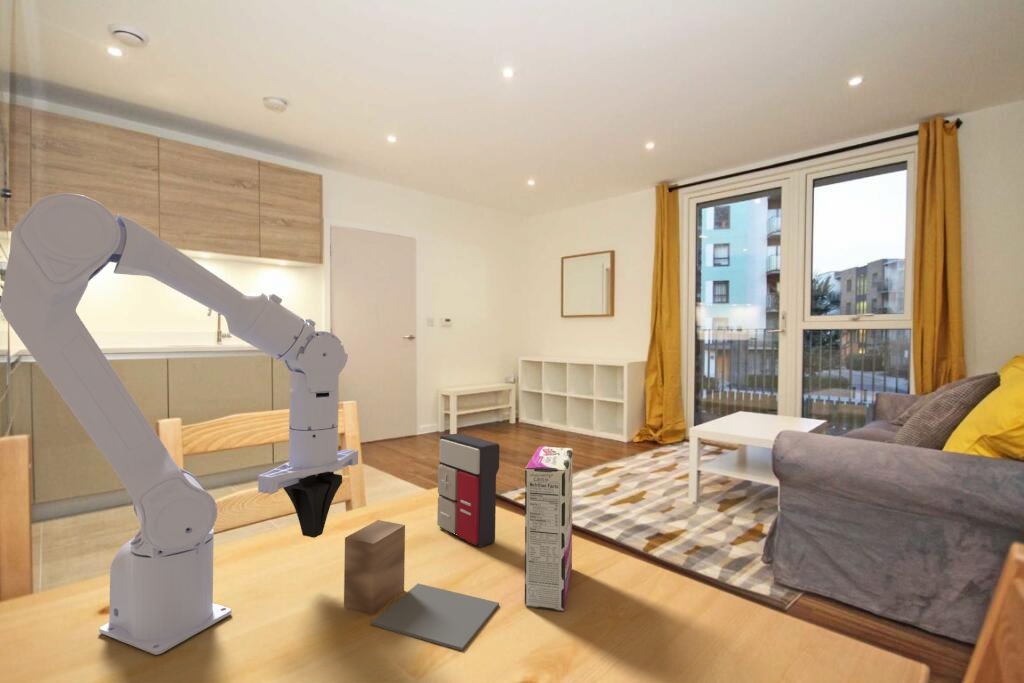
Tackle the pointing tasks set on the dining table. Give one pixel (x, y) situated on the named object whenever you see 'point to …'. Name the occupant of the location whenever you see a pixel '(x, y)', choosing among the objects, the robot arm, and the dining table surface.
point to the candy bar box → (548, 528)
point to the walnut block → (374, 566)
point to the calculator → (468, 487)
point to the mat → (437, 616)
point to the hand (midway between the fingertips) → (312, 534)
